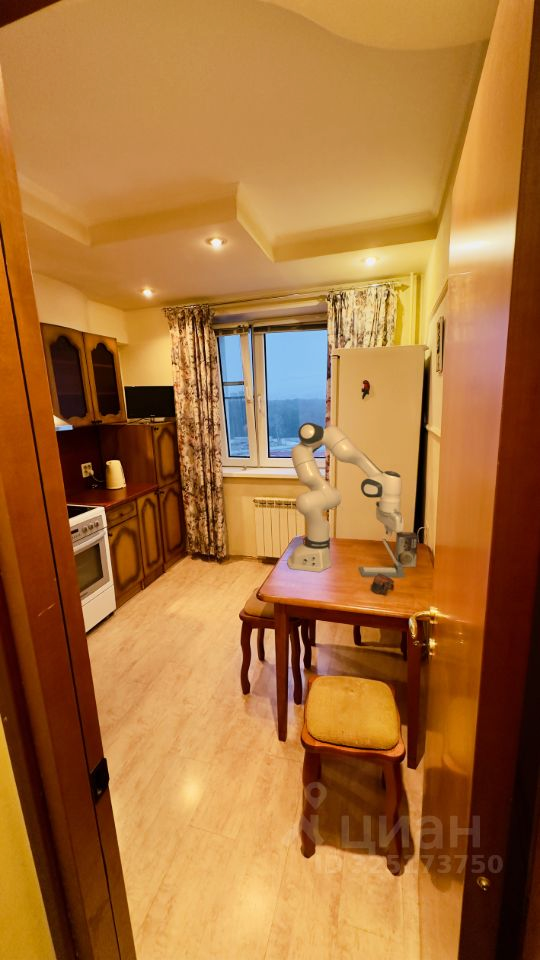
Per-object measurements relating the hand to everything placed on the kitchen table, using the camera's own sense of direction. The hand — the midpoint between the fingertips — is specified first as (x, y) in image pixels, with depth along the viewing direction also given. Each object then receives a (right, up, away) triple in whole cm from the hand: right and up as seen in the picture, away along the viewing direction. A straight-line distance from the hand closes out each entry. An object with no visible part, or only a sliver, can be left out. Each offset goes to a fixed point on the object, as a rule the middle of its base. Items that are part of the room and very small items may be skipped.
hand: (388, 534), depth 169 cm
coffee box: (+13, -17, +14) cm, 25 cm away
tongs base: (-2, -19, +5) cm, 20 cm away
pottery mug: (-6, -23, -11) cm, 26 cm away
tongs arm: (+2, -10, +2) cm, 10 cm away
